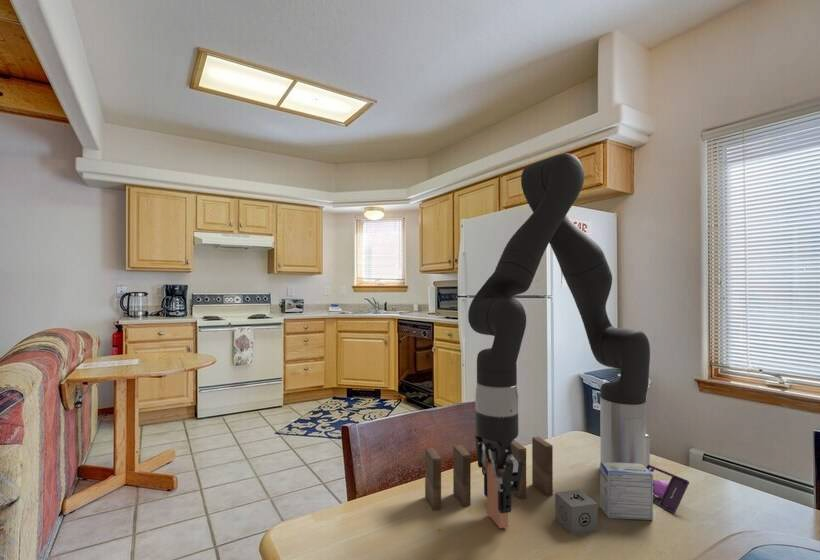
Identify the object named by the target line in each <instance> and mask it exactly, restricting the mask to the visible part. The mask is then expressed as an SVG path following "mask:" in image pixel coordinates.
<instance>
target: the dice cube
mask: <svg viewBox="0 0 820 560" xmlns="http://www.w3.org/2000/svg"><path fill="white" fill-rule="evenodd" d="M554 495H555V497H554V499H555V500H554V509H555V510H554V511H555V512H554V515H555V516H554V519H555V520H556V521H557V522H558V523H559V524H560V525H561V526H562V527H564V529H565V530H566V531H568V532H569V533H570V534H571V535H572V536H573V535H579V534H586V533H594V532H598V502H597V501H595V500H594V499H592V498H591V497H590V496H589V495H588V494H586V493H585V492H583V491H582V490H580V489H573V490H565V491H557V492H554Z"/></svg>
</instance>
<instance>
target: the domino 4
mask: <svg viewBox="0 0 820 560" xmlns="http://www.w3.org/2000/svg"><path fill="white" fill-rule="evenodd" d="M511 444H512V450H513V457H514V458H515V459H521V460H522V464H523V465H522V473H521V480H520V488H519V492H513V493H512V494H513V495H514V496H515V497H516V498H517V499H518V500H523V499H524V500H525V499H527V447H525V446H523V445H522V444H521V443H520V442H518V441H517V440H515V439H514V440H513V441H512V442H511ZM513 483H514V481H513Z"/></svg>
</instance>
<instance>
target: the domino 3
mask: <svg viewBox="0 0 820 560" xmlns="http://www.w3.org/2000/svg"><path fill="white" fill-rule="evenodd" d="M487 461H488V459H487ZM498 471H499V472H504V471H505V468H501V469H498ZM503 481H504V476H503V477H502V483H503ZM486 513H487V514H488V515H489V517H490V518H491V520H492V521H493V522H494V523H495V524H496V525H497V527H498V528H499V529H505V528H509V512H508V513H500V512H499V511H498V486H497V479H496V477H495V476H494V475H493V470H492V464H490V463H489V462H488V468H487V497H486Z"/></svg>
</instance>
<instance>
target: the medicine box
mask: <svg viewBox="0 0 820 560" xmlns="http://www.w3.org/2000/svg"><path fill="white" fill-rule="evenodd" d="M599 469H600V471H599V480H600V482H599V483H600V484H599V485H600V491H599V494H600V496H599V497H600V500H599V501H600V507H601V509H602V510H603V512H604V513H605V515H606V516H607V518H608V519H623V520H624V519H626V520H642V521H643V520H644V521H645V520H646V521H653V520H654V506H653V505H654V503H653V501H654V500H653V494H654V493H653V480H654V475H653V472H651V471H649V470H648V469H647V468H646V467H645V466H643V465H642V464H635V463H610V462H601V461H600V463H599Z"/></svg>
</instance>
